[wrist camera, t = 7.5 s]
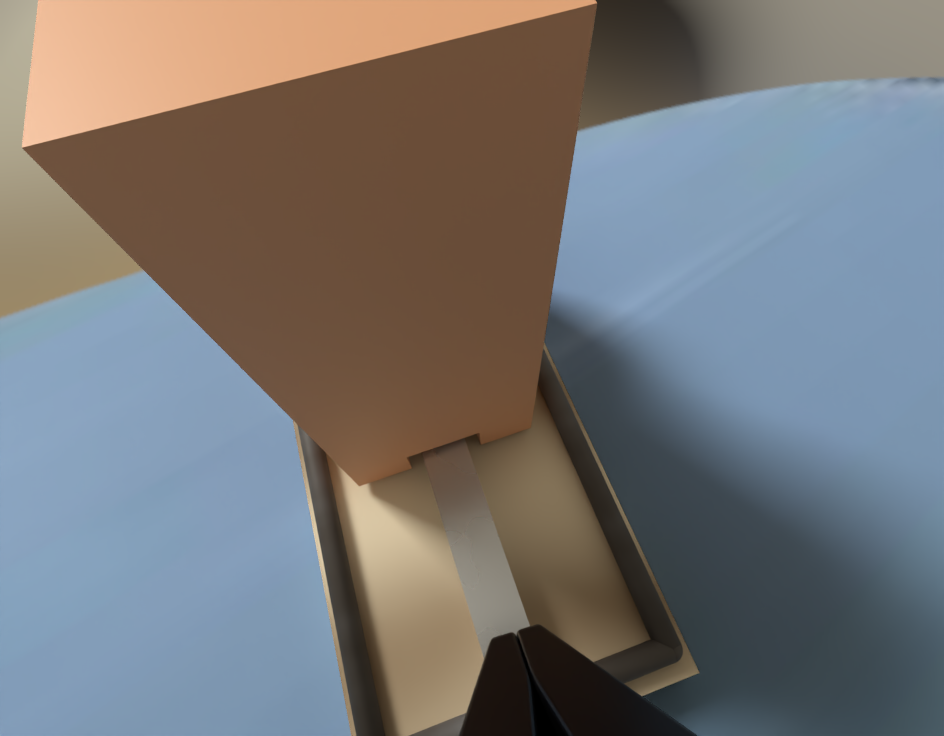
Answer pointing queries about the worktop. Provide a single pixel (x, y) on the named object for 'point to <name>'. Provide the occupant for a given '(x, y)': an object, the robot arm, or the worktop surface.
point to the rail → (474, 543)
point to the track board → (439, 587)
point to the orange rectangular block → (333, 192)
